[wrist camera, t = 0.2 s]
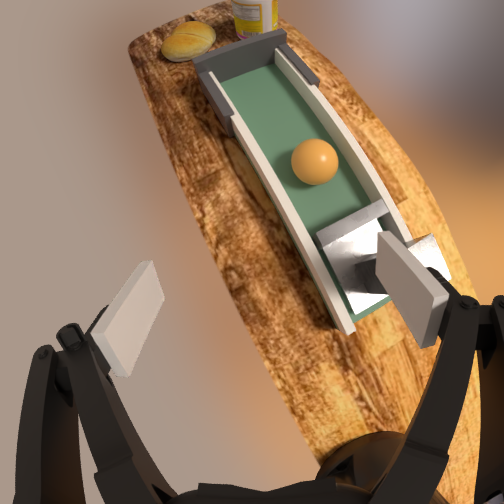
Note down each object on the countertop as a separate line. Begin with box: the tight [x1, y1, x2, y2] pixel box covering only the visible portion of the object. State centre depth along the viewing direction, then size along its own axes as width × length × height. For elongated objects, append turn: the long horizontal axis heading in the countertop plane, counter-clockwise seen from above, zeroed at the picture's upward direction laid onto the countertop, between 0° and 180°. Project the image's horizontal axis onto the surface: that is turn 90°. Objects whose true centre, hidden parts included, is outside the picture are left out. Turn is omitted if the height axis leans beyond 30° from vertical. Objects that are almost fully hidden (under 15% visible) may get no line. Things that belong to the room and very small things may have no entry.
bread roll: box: [161, 21, 216, 62], centre depth 35 cm, size 8×9×4 cm
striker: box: [311, 199, 452, 315], centre depth 23 cm, size 9×8×13 cm
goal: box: [192, 28, 320, 138], centre depth 31 cm, size 9×12×7 cm
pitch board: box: [209, 48, 413, 335], centre depth 30 cm, size 36×11×4 cm, turn 27°
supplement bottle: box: [231, 0, 278, 40], centre depth 30 cm, size 7×7×13 cm
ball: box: [291, 139, 338, 185], centre depth 28 cm, size 5×5×5 cm
